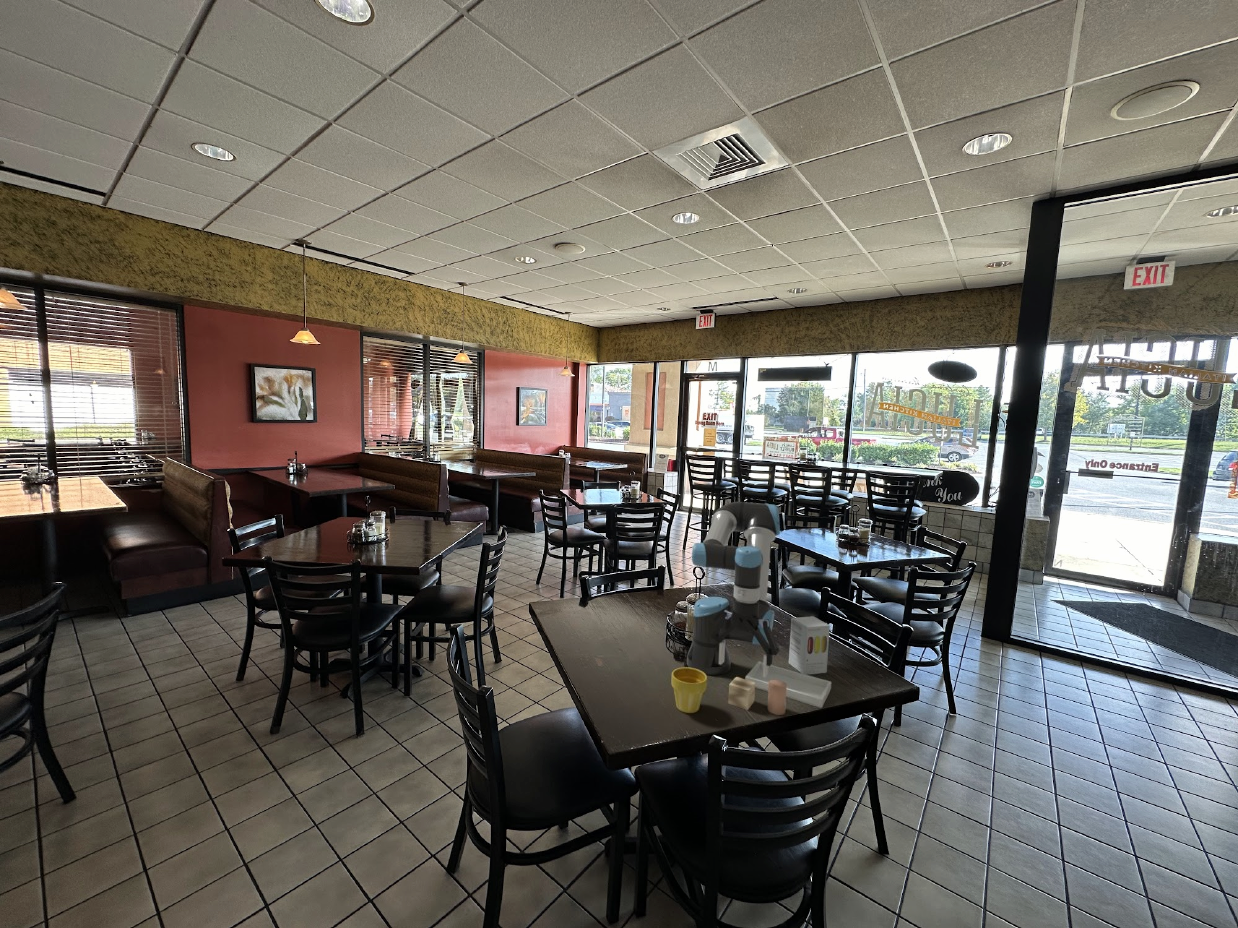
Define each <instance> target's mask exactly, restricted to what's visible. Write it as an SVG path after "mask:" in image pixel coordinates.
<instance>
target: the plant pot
mask: <svg viewBox="0 0 1238 928" xmlns="http://www.w3.org/2000/svg"><path fill="white" fill-rule="evenodd" d="M670 677H671V682H670V683H671V686H672V688H673V692H674V698H675V705H676V709H678V710H679V711H681V712H682V713H686V714H694V713H697V712H698V711H699V710H700V706H701V702H702V699H703V694H704V692H705V691H706V690H707V687H708V686H707V685H708V676H707V674H705V673H704V672H702V671H700V670H698V669H695V668H690V667H689V666H688V667H687V666H686V667H684V666H683V667H677V668H676V669H674V670H673V671H672V672H671V676H670Z"/></svg>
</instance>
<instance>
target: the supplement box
mask: <svg viewBox="0 0 1238 928" xmlns="http://www.w3.org/2000/svg"><path fill="white" fill-rule="evenodd" d="M790 619H791V622H790V623H791V624H790V634H789V635H790V636H789V637H790V638H789V652H788V664H789V665H790V666H792V667H793V668H794V669H795V670H797V671H798V673H802V674H805V675H817V674H826V673H827V672H828V656H829V655H828V653H829V644H830V643H829V641H830V625H829V624H827V622H824V621H822V620H821V619H819V618H817V617H815V616H813V615H810V616H801V617H800V616H799V617H791V618H790Z"/></svg>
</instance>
